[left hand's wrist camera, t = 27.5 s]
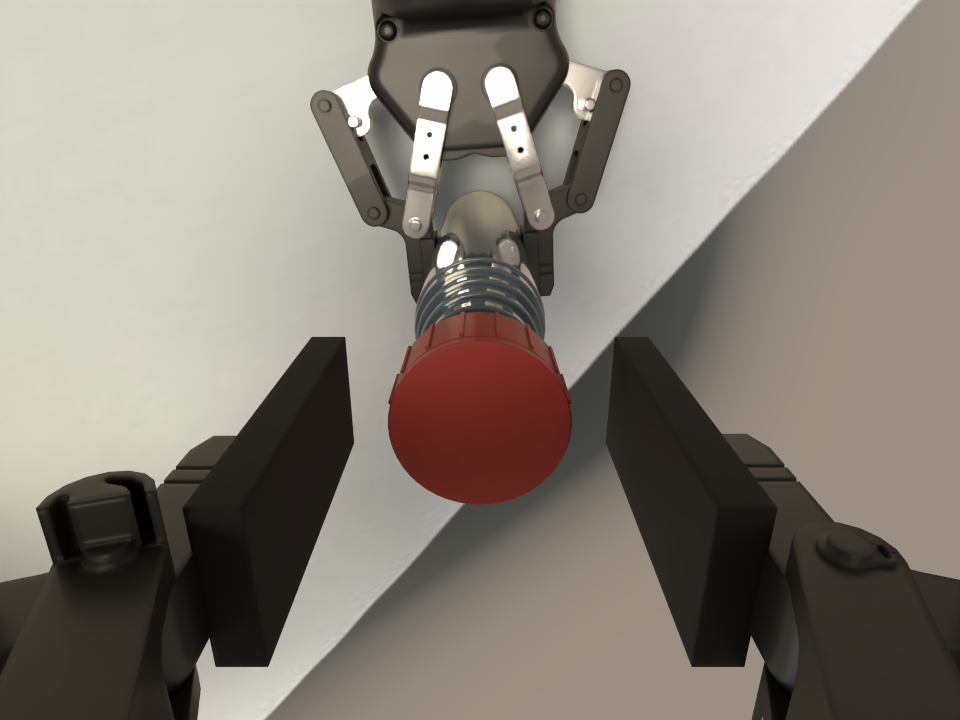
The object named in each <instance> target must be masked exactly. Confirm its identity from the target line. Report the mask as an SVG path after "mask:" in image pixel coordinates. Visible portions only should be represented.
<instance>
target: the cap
mask: <svg viewBox="0 0 960 720" xmlns="http://www.w3.org/2000/svg"><path fill="white" fill-rule="evenodd" d="M389 404H390V408H389V414H388V430H389V437H390V441H391V444H392V448H393V450H394V452H395V454H396V457H397V458H398V460H399V462H400V463H401V465H402V466H403V468H404V469H405V470H406V471H407V473H408V474H409V475H410V476H411V477H412V478H413V479H414V480H415V481H416V482H417V483H419V484H420V485H421V486H423V487H424V488H426V489H427V490H429V491H431V492H432V493H434V494H436V495H438V496H441V497H443V498H446V499H449V500H452V501H456V502H461V503H467V504H493V503H499V502H504V501H507V500H511V499H514V498H516V497H519V496H521V495H524V494H525V493H527V492H529V491H531V490H533V489H534V488H535V487H537V486H538V485H540V484H541V483H542V482H543V481H544V480H545V479H546V478H548V477H549V476H550V475H551V473H552V472H553V471H554V470H555V468H556V467H557V466H558V464H559V463H560V461H561V459H562V458H563V456H564V453H565V451H566V449H567V446H568V443H569V439H570V434H571V411H570V405H569V404H571V400H570V396H569V393H568V390H567V387H566V384H565V381H564V378H563V374H560V372H559V369H558V366H557V362H556V359H555V356H554V353H553V349H552V347H551V346H549V347H548V346H547V344H546V343H545V342H544V341H543V339H542V338H541V337H540V336H539V335H538V334H537V333H535V332H534V331H533V330H532V329H531V328H530V325H528V324H526V325H525V324H523V323H521V322H519V321H517V320H515V319H513V318H510V317H507V316H504V315H501V314H499V312H495V313H488V312H471V313H465V312H461V314H459V315H456V316H452V317H449V318H447V319H445V320H443V321H440V322H438V323H437V324H435V325H434V324H431V325H430V328H429V329H428V330H427V331H425V332H424V333H423V334H422V335H421V336H420V337H419V338H418V339H417V340H416V341H415V342H414V344H413V345H412V347H411V346H409V347H408V348H407V352H406V355H405V358H404V361H403V364H402V368H401V371H400V374H397V376H396V380H395V383H394V386H393V389H392V392H391V395H390V398H389Z"/></svg>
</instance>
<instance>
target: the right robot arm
mask: <svg viewBox="0 0 960 720" xmlns="http://www.w3.org/2000/svg"><path fill="white" fill-rule="evenodd" d="M372 8H373V17H374V26H375V48H374V52H373V56H372V58H371V61H370V64H369V67H368V76H366V77H364V78H362V79H359V80H357V81H355V82H353V83H351V84H349V85H346V86H344V87H342V88H340V89H338V90H335V91H325V90H321V91H318V92H316V93H315V94H314V95H313V97H312V99H311V104H310V105H311V110H312V113H313V115H314V117H315V119H316V121H317V123H318V125H319V128H320V130H321V132H322V134H323V136H324V138H325V140H326V142H327V145H328V147H329V149H330V151H331V153H332V155H333V157H334V160H335V162H336V164H337V166H338V168H339V170H340V172H341V175H342V177H343V179H344V181H345V183H346V185H347V187H348V189H349V192H350V194H351V196H352V198H353V200H354V202H355V204H356V207H357V209H358V211H359V213H360V215H361V217H362V219H363V221H364V222H365V223H366V224H368V225H370V226H373V227H376V226H381V227H384V228H388V229H391V230H394V231H396V232H398V233H399V234H400V235H401V236H402V237H403V238H404V240H405V243H406V251H407V260H408V269H409V278H410V287H411V294H412V296H413V298H414V300H415V302H416V304H417V302H418V299H419V296H420V293H421V290H422V287H423V284H424V281H425V278H426V275H427V272H428V269H429V266H430V263H431V260H432V257H433V254H434V251H435V248H436V245H437V242H438V231H433V223H432V220H433V214H434V209H435V203H436V197H437V192H438V186H439V182H440V177H441V172H442V166H443V161H445V160H457V159H459V158H462V157H465V156H468V155H470V154H479V155H484V156H489V157H501V156H506V157H507V160H508V163H509V167H510V170H511V173H512V176H513V178H514V181H515V184H516V188H517V191H518V194H519V197H520V200H521V203H522V206H523V209H524V225H520V237H521V240H522V243H523V246H524V249H525V252H526V255H527V258H528V261H529V264H530V267H531V270H532V273H533V276H534V279H535V282H536V285H537V288H538V291H539V294H540V296H550V294H551V291H552V289H553V286H554V273H553V272H554V269H553V230H554V228H555V226H556V224H557V223H558V222H559V221H561V220H562V219H564V218H566V217H568V216H571V215H573V214H575V213H585V212H587V211H588V210H590V209H591V207H592V206H593V204H594V201H595V198H596V195H597V191H598V188H599V185H600V182H601V179H602V176H603V172H604V169H605V166H606V163H607V160H608V156H609V153H610V150H611V147H612V144H613V141H614V137H615V134H616V131H617V128H618V125H619V122H620V118H621V115H622V112H623V109H624V106H625V102H626V99H627V96H628V93H629V90H630V78H629V76H628V75H627V73H625V72H624V71H622V70H619V69H616V70H609V71H604V70H600V69H597V68H593V67H590V66H586V65H583V64H579V63H576V62H572V61H569V57H568V53H567V50H566V48H565V47H564V45H563V43H562V41H561V39H560V36H559V34H558V30H557V26H556V9H555V0H372ZM562 85H563V86H565V87H566V88H567V89H568V90H569V92H570V94H571V111H572V113H573V115H574V116H575V117H576V118H578V119H581V120H582V121H581V124H580V128H579V131H578V135H577V138H576V141H575V145H574V148H573V152H572V155H571V158H570V162H569V165H568V169H567V172H566V175H565V179H564V182H563V185H561V186H559V187H557V188H555V189H552V190H550V191H548V190H547V187H546V184H545V181H544V177H543V173H542V169H541V165H540V162H539V158H538V155H537V152H536V149H535V145H534V142H533V139H532V133H533V132H534V130H535V128H536V127H537V125H538V123H539V122H540V120H541V119H542V117H543V115H544V114H545V112H546V110H547V109H548V107H549V106H550V104H551V102H552V101H553V99H554V97H555V96H556V94H557V93H558V91H559V89H560V88H561V86H562ZM377 99H379V101H380V102H381V103H382V104H383V106H384V107H385V108H386V109H387V110H388V112H389V113H390V114H391V115H392V116H393V118H394V119H395V120H396V121H397V123H398V124H399V125H400V126H401V127H402V129H403V130H404V131H405V132H406V133H407V135H408V136H409V137H410V138H411V140H412V141H413V142H414V146H413V152H412V158H411V165H410V171H409V178H408V190H407V196H406V201H404V200H400V199H397V198H393V197H391V194H390V192H389V190H388V188H387V186H386V183H385V181H384V179H383V177H382V174H381V172H380V170H379V168H378V165H377V163H376V161H375V159H374V156H373V154H372V152H371V150H370V147H369V145H368V143H367V141H366V138H365V136H364V135H366V134H368V133H369V132H370V131H371V129H372V127H373V118H372V114H371V109H372V105H373V103H374V102H375V101H376V100H377Z"/></svg>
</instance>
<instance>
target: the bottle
mask: <svg viewBox="0 0 960 720" xmlns="http://www.w3.org/2000/svg"><path fill="white" fill-rule="evenodd" d="M461 312H465V313H471V312H488V313H495V312H499V314H501V315H504V316H507V317H510V318H513V319H515V320H517V321H519V322H521V323H523V324H525V325H526V324H528V325H530V328H531V329H532V330H533V331H534V332H535V333H537V334H538V335H539V336H540V337H541V338H542V339H543V341H544V335H545V313H544V307H543V303H542V300H541V297H540V294H539V291H538V288H537V285H536V282H535V279H534V276H533V273H532V270H531V267H530V264H529V261H528V258H527V255H526V252H525V249H524V246H523V243H522V240H521V237H520V233H519V230H518V227H517V224H516V221H515V218H514V215H513V213H512V211H511V209H510V207H509V206H508V204H507V203H506V202H505V201H504V200H503V199H501V198H500V197H499V196H497V195H495V194H492V193H490V192H485V191H475V192H470V193H468V194H465V195H463V196H461V197H460V198H458V199H457V200H456V201H455V202H454V203H453V204H452V206H451V207H450V209H449V211H448V213H447V215H446V218H445V221H444V224H443V227H442V230H441V233H440V236H439V239H438V242H437V245H436V248H435V251H434V254H433V257H432V260H431V263H430V266H429V269H428V272H427V275H426V278H425V281H424V284H423V287H422V290H421V293H420V296H419V299H418V302H417V306H416V312H415V337H416V340H417V339H418V338H419V337H420V336H421V335H422V334H423V333H424V332H425V331H427V330H428V329H429V328H430V325H431V324H434V325H435V324H437V323H438V322H440V321H443V320H445V319H447V318H449V317H452V316H456V315H459V314H461Z"/></svg>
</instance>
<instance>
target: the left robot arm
mask: <svg viewBox="0 0 960 720" xmlns="http://www.w3.org/2000/svg"><path fill="white" fill-rule="evenodd" d="M353 444H354V435H353V424H352V412H351V400H350V388H349V377H348V365H347V353H346V341H345V337H311V339H310V340H309V341H308V343H307V344H306V345H305V347H304V348H303V349H302V351H301V352H300V353H299V355H298V356H297V357H296V359H295V360H294V361H293V362H292V364H291V365H290V366H289V368H288V369H287V370H286V372H285V373H284V374H283V376H282V377H281V378H280V380H279V381H278V382H277V384H276V385H275V386H274V388H273V389H272V390H271V392H270V393H269V394H268V395H267V397H266V398H265V399H264V401H263V402H262V403H261V405H260V406H259V407H258V409H257V410H256V411H255V413H254V414H253V415H252V417H251V418H250V419H249V421H248V422H247V423H246V425H245V426H244V427H243V428H242V430H241V431H240V432H239V434H238V435H237V436H213V437H211V438H209V439H208V440H206V441H204V442H203V443H201V444H200V445H198V446H196V447H195V448H193V449H191V450H190V451H189V452H188V453H187V454H186V456H185V457H184V458H183V459H182V460H181V461H180V463H179V464H178V465H177V466H176V470H173V471H172V472H171V473H170V474H169V475H168V476H167V478H166V479H165V480H164V484H161V485H160V486H159V487H158V488H157V489H156V486H155V481H154V480H153V479H152V478H150V477H149V476H148V475H146V474H144V473H139V472H133V471H117V472H107V473H102V474H98V475H93V476H89V477H86V478H83V479H80V480H78V481H75V482H73V483H70V484H68V485H65V486H64V487H62V488H60V489H59V490H57V491H55V492H54V493H52V494H50V495H49V496H47V497H46V498H45V499H44V500H43V502H42V503H41V504H40V505H39V506H38V507H37V508H36V511H37V514H38V517H39V520H40V523H41V527H42V530H43V533H44V536H45V539H46V542H47V546H48V549H49V552H50V555H51V558H52V562H53V565H52V567H51V569H50V571H49V572H48V573H44V574H41V575H36V576H31V577H26V578H21V579H16V580H11V581H6V582H1V583H0V720H197V717H198V708H199V699H200V690H201V688H200V682H199V676H198V671H197V667H196V662H197V660H198V659H199V657H200V655H201V653H202V651H203V649H204V647H205V645H206V643H207V641H208V639H209V637H210V642H211V647H212V651H213V656H214V661H215V666H216V667H268V666H269V663H270V661H271V658H272V656H273V653H274V650H275V648H276V645H277V642H278V640H279V637H280V635H281V632H282V629H283V627H284V624H285V622H286V619H287V616H288V614H289V611H290V609H291V606H292V603H293V601H294V598H295V596H296V593H297V590H298V588H299V585H300V583H301V580H302V577H303V575H304V572H305V570H306V567H307V564H308V562H309V559H310V557H311V554H312V551H313V549H314V546H315V543H316V541H317V538H318V536H319V533H320V530H321V528H322V525H323V523H324V520H325V517H326V515H327V512H328V510H329V507H330V504H331V502H332V499H333V497H334V494H335V491H336V489H337V486H338V484H339V481H340V478H341V476H342V473H343V471H344V468H345V465H346V463H347V460H348V458H349V455H350V452H351V450H352V447H353ZM606 444H607V447H608V450H609V452H610V455H611V457H612V460H613V463H614V465H615V468H616V470H617V473H618V476H619V478H620V481H621V484H622V486H623V489H624V491H625V494H626V497H627V499H628V502H629V504H630V507H631V510H632V512H633V515H634V517H635V520H636V523H637V525H638V528H639V530H640V533H641V536H642V538H643V541H644V543H645V546H646V549H647V551H648V554H649V557H650V559H651V562H652V564H653V567H654V570H655V572H656V575H657V577H658V580H659V583H660V585H661V588H662V590H663V593H664V595H665V598H666V601H667V603H668V606H669V609H670V611H671V614H672V616H673V619H674V622H675V624H676V627H677V629H678V632H679V635H680V637H681V640H682V642H683V645H684V648H685V650H686V653H687V656H688V658H689V661H690V663H691V666H692V667H744V666H745V661H746V656H747V651H748V647H749V642H750V637H751V636H752V638H753V640H754V642H755V644H756V646H757V648H758V649H759V651H760V653H761V655H762V657H763V659H764V661H765V662H764V667H763V671H762V676H761V680H760V684H759V689H758V693H757V698H756V702H755V707H754V711H753V716H752V720H762V717H763V720H960V580H958V579H953V578H948V577H943V576H938V575H933V574H928V573H923V572H918V571H915V570H911V569H910V568H909V566H908V564H907V562H906V561H905V559H904V558H903V557H902V556H901V554H900V553H899V552H898V551H897V549H895V548H894V547H892V546H891V545H890V544H888V543H887V542H886V541H884V540H883V539H881V538H880V537H878V536H876V535H873V534H871V533H869V532H867V531H865V530H862V529H860V528H857V527H853V526H849V525H845V524H842V523H838V522H834V521H833V520H832V519H831V517H830V516H829V515H828V514H827V513H826V512H825V510H824V509H823V508H822V507H821V506H820V505H819V504H818V502H817V501H816V500H815V499H814V498H813V497H812V496H811V494H810V493H809V492H808V491H807V490H806V489H805V488H804V486H803V485H802V484H801V483H800V482H797V481H796V477H795V476H794V475H793V474H792V473H791V471H790V470H789V469H788V468H785V467H784V463H783V462H782V461H781V460H780V459H779V458H778V457H777V455H776V454H775V453H774V452H773V451H772V450H771V448H769V447H768V446H766V445H764V444H763V443H761V442H759V441H758V440H756V439H754V438H752V437H751V436H749V435H748V434H721V432H720V431H719V430H718V428H717V427H716V426H715V425H714V423H713V422H712V421H711V419H710V418H709V417H708V415H707V414H706V413H705V411H704V410H703V409H702V407H701V406H700V405H699V403H698V402H697V401H696V399H695V398H694V397H693V395H692V394H691V393H690V392H689V390H688V389H687V388H686V386H685V385H684V384H683V382H682V381H681V380H680V378H679V377H678V376H677V374H676V373H675V372H674V370H673V369H672V368H671V366H670V365H669V364H668V363H667V361H666V360H665V359H664V357H663V356H662V355H661V353H660V352H659V351H658V349H657V348H656V347H655V345H654V344H653V343H652V341H651V340H650V339H649V337H615V341H614V354H613V365H612V377H611V388H610V400H609V412H608V424H607V435H606Z"/></svg>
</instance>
